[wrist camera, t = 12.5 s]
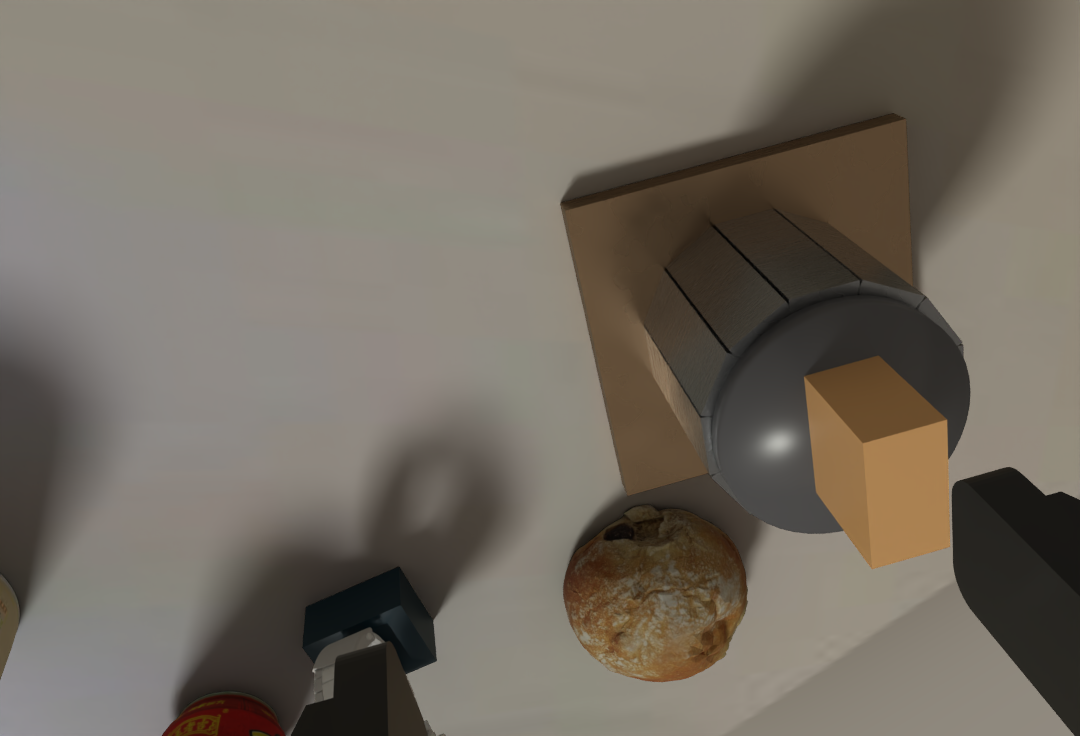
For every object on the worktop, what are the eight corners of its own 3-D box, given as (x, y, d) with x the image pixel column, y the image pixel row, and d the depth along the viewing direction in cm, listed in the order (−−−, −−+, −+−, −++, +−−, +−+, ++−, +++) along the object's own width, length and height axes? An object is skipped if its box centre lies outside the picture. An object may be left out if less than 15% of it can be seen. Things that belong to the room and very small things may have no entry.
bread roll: (688, 460, 56) (704, 488, 48) (771, 612, 57) (801, 665, 49) (539, 539, 57) (530, 579, 49) (622, 688, 58) (627, 753, 50)
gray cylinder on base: (560, 202, 44) (609, 285, 35) (893, 113, 45) (1025, 172, 36) (622, 483, 52) (675, 610, 43) (906, 403, 52) (1018, 512, 43)
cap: (683, 320, 38) (749, 413, 31) (934, 251, 38) (1052, 328, 32) (717, 526, 43) (781, 644, 36) (940, 463, 43) (1043, 568, 37)
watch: (359, 682, 55) (357, 854, 45) (289, 584, 51) (271, 749, 42) (449, 644, 55) (466, 808, 45) (385, 542, 51) (390, 698, 41)
